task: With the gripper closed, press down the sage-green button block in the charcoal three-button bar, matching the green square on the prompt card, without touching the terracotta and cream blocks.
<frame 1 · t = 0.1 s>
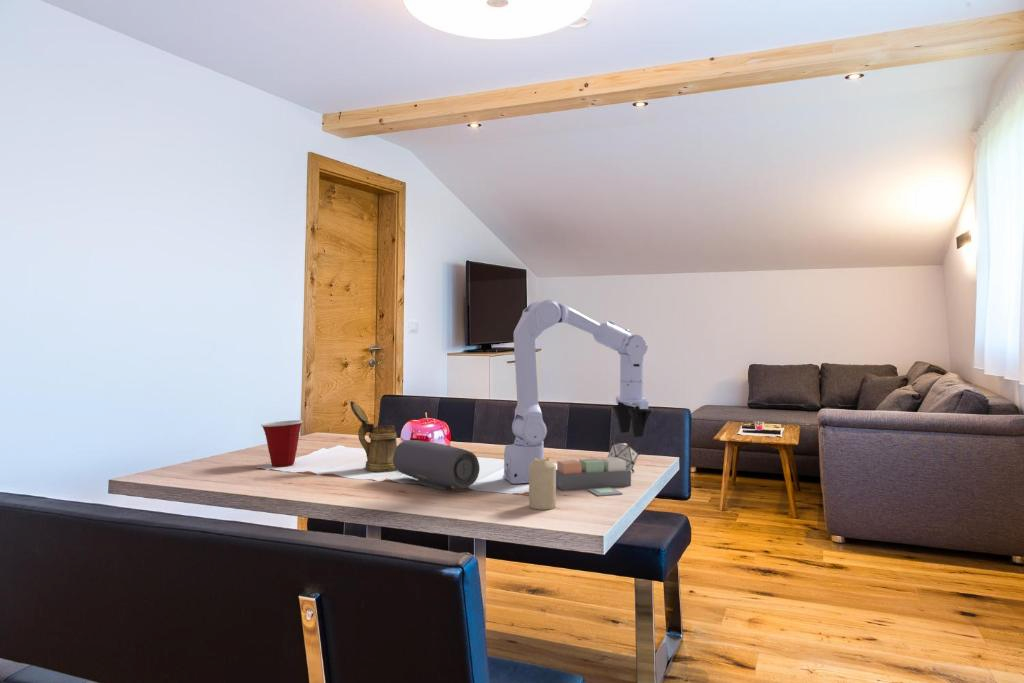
hand: (631, 434, 172), 10 cm above the table, tool pointing down, fingers open, 7 cm apart
button bar: (591, 485, 159), on the table
prompt card: (604, 492, 151), on the table
candle: (542, 507, 139), on the table
terracotta button: (569, 468, 157), point 4 cm above the table, slide at 0.0 cm
sage button: (591, 466, 158), point 4 cm above the table, slide at 0.0 cm
plastic cup: (282, 465, 183), on the table
cream button: (613, 465, 160), point 4 cm above the table, slide at 0.0 cm
bluetooth speaker: (435, 486, 159), on the table
game die: (622, 473, 173), on the table
wooden mug: (375, 469, 178), on the table
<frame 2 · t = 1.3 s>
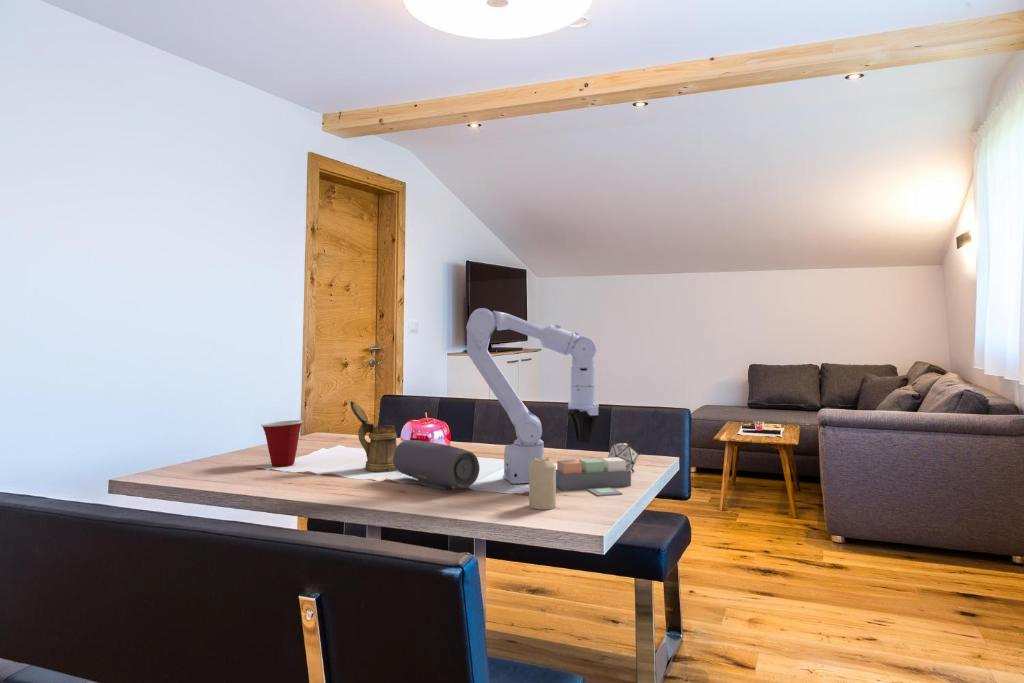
hand: (582, 441, 164), 9 cm above the table, tool pointing down, fingers closed
nothing on the table moved.
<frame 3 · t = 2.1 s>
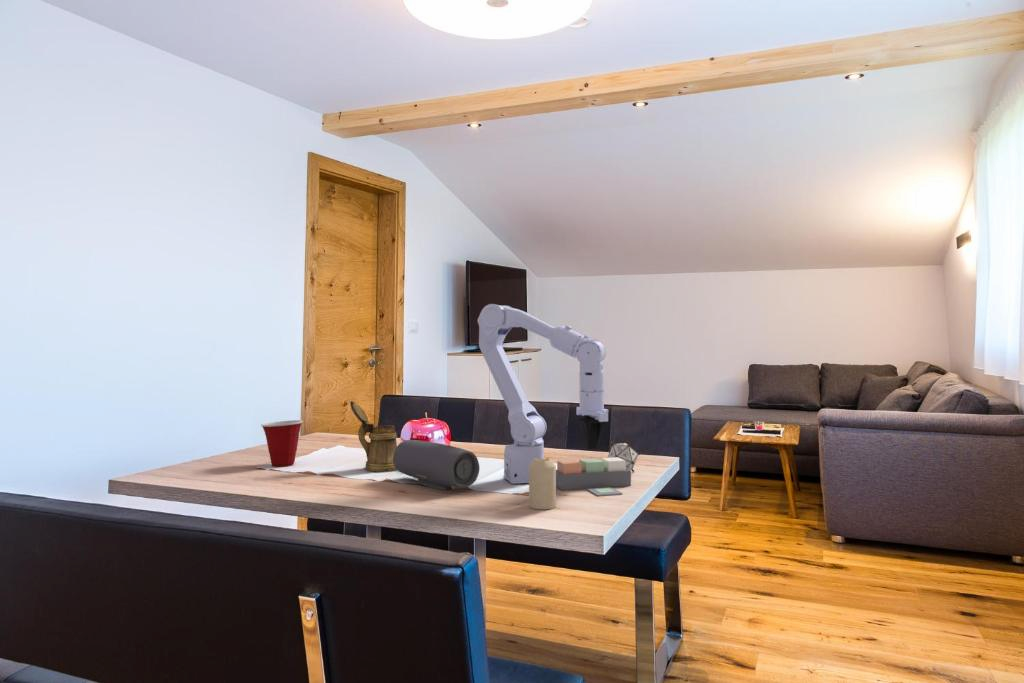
hand: (591, 448, 158), 9 cm above the table, tool pointing down, fingers closed
nothing on the table moved.
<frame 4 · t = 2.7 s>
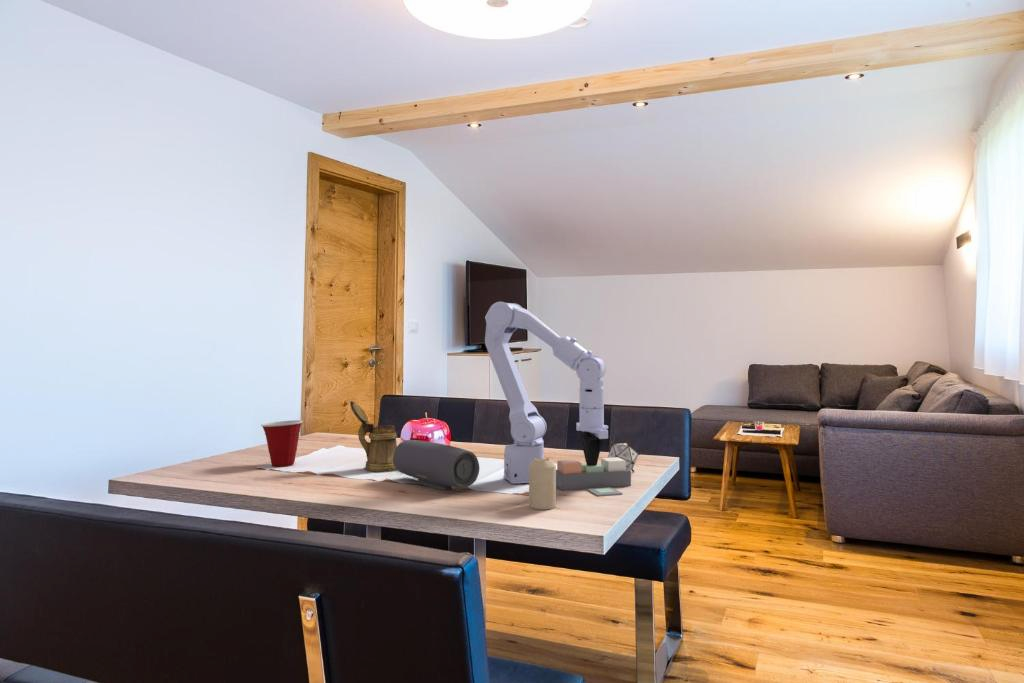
hand: (591, 465, 158), 5 cm above the table, tool pointing down, fingers closed, pressing on sage button
sage button: (591, 471, 158), point 3 cm above the table, slide at -1.0 cm, touching gripper
everything else where it was.
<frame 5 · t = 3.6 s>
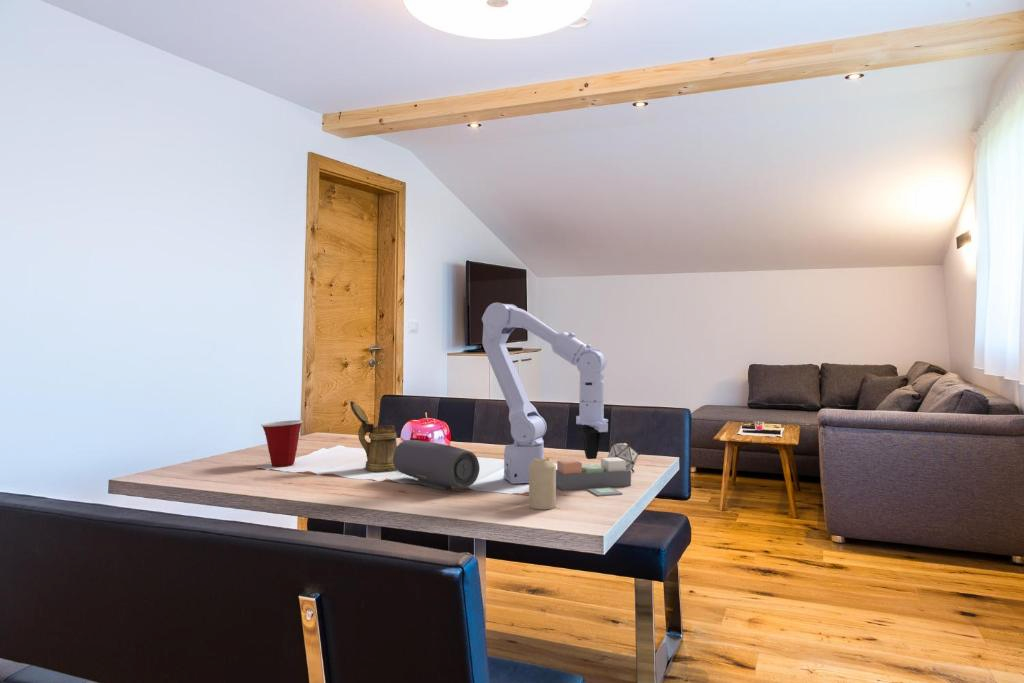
hand: (591, 458, 158), 6 cm above the table, tool pointing down, fingers closed
sage button: (591, 473, 158), point 3 cm above the table, slide at -1.5 cm
everything else where it was.
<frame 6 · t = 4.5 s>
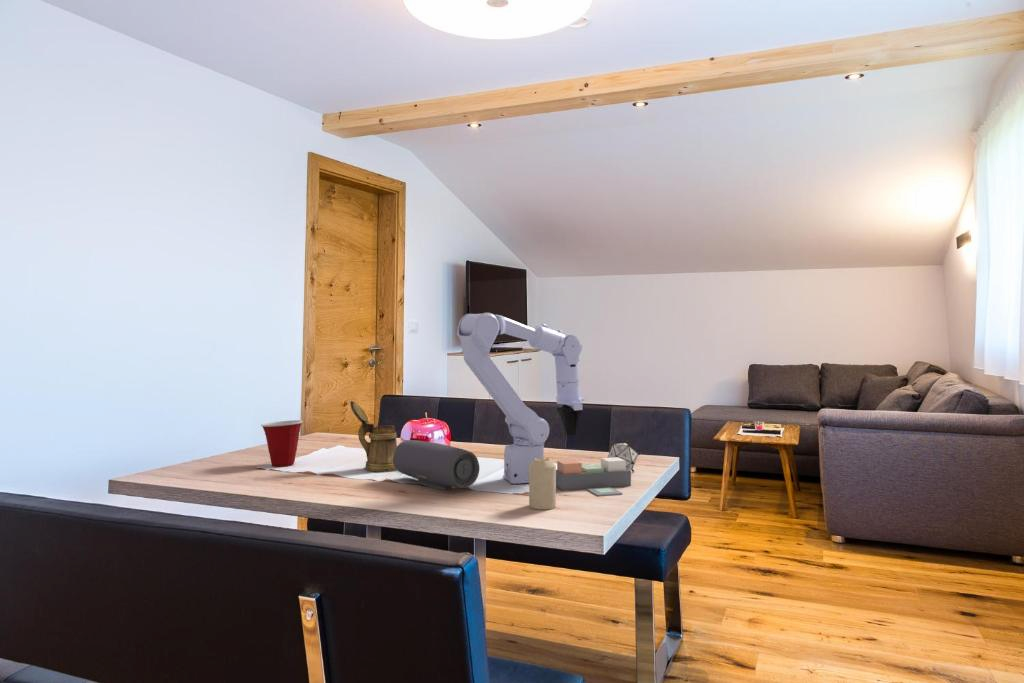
hand: (570, 435, 170), 10 cm above the table, tool pointing down, fingers closed
nothing on the table moved.
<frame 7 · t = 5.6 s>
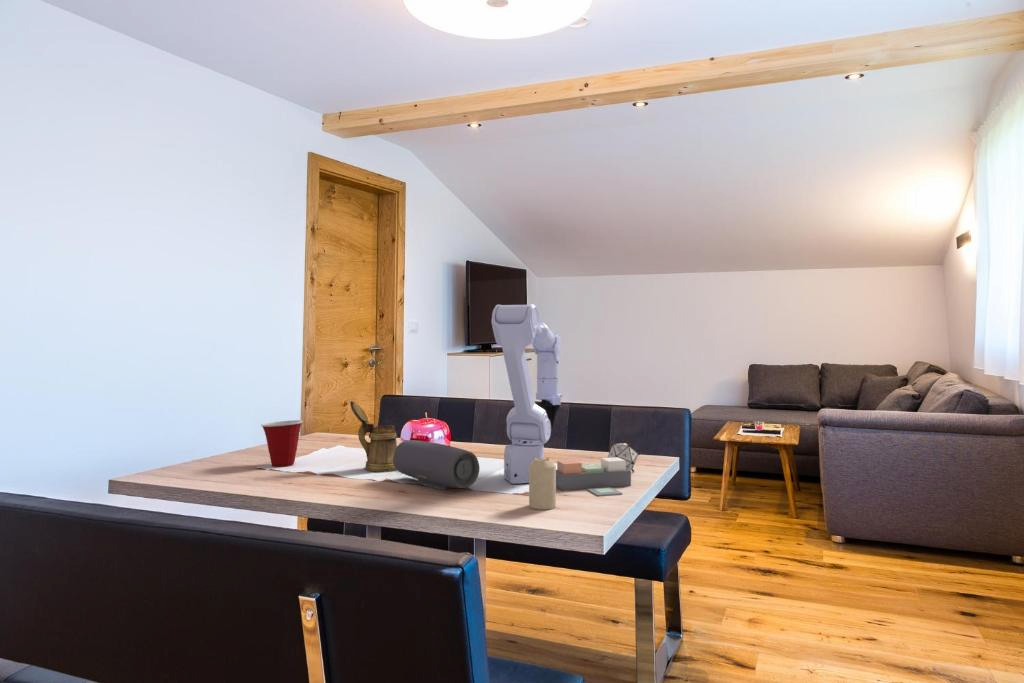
hand: (547, 429, 178), 10 cm above the table, tool pointing down, fingers closed
nothing on the table moved.
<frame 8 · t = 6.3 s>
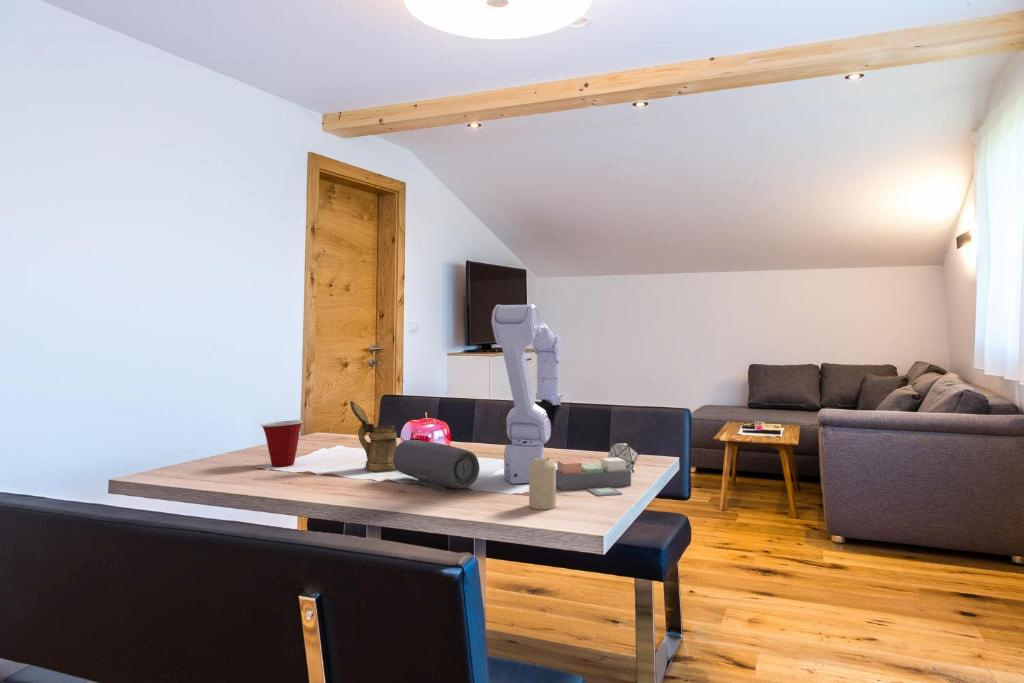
hand: (547, 429, 178), 10 cm above the table, tool pointing down, fingers closed
nothing on the table moved.
at the end: sage button slide at -1.5 cm; terracotta button slide at 0.0 cm; cream button slide at 0.0 cm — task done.
